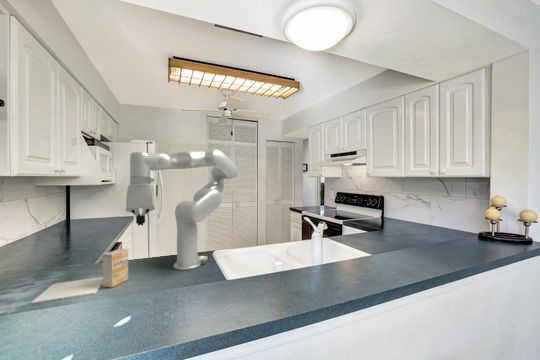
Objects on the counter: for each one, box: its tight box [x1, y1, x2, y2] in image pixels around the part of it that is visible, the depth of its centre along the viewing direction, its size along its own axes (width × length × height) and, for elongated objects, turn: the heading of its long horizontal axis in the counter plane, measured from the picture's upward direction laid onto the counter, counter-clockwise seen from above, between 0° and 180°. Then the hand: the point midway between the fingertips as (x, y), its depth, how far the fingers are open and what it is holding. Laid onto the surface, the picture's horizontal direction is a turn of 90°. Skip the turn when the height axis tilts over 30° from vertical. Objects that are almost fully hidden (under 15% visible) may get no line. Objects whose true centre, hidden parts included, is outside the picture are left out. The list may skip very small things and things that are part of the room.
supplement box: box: [101, 248, 129, 289], centre depth 96 cm, size 8×5×13 cm, turn 168°
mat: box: [30, 276, 103, 305], centre depth 91 cm, size 18×16×1 cm
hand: (140, 224), depth 100 cm, fingers closed
